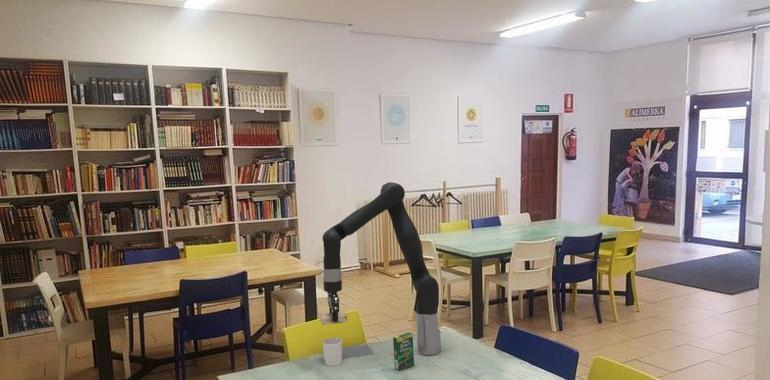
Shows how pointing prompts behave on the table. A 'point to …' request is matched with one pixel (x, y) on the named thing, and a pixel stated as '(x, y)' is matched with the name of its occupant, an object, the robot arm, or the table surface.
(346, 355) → the mat
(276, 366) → the table surface
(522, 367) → the table surface
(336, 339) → the white cup
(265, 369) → the table surface
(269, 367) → the table surface
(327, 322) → the lid board
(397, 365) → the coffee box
